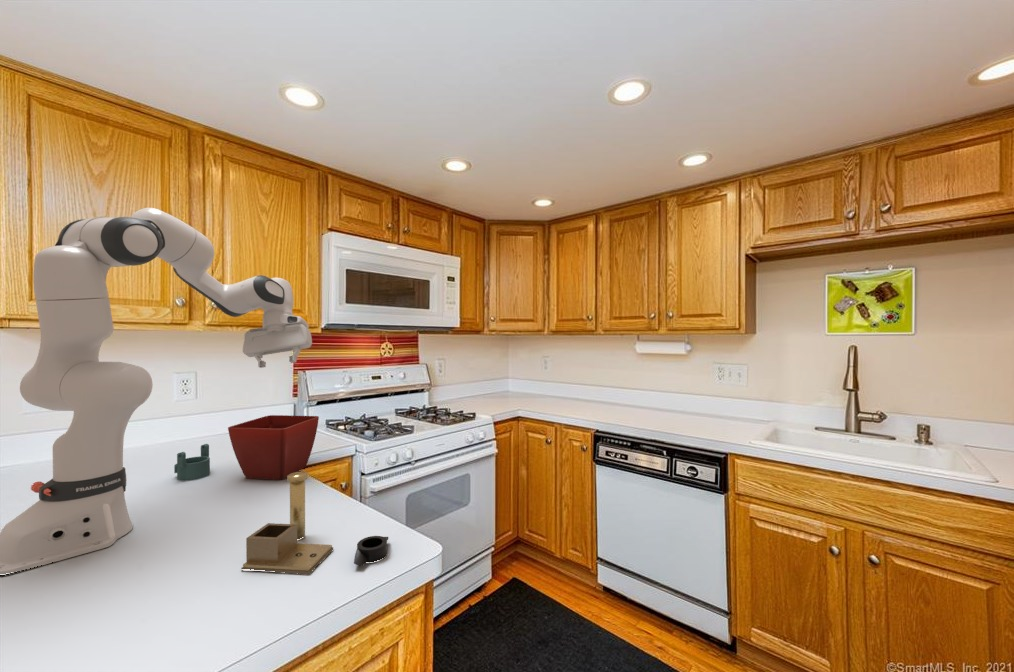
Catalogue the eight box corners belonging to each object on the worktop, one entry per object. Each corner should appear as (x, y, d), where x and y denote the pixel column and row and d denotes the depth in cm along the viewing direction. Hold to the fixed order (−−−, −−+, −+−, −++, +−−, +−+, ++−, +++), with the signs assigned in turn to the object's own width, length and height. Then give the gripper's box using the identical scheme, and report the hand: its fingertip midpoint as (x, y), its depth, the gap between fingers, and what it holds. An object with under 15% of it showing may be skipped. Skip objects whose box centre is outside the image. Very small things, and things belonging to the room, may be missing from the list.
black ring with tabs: (339, 558, 85) (339, 544, 85) (384, 541, 92) (384, 528, 92) (357, 574, 80) (357, 559, 80) (403, 554, 87) (403, 540, 87)
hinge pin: (294, 543, 91) (294, 479, 90) (283, 539, 93) (283, 475, 92) (311, 536, 94) (311, 473, 94) (300, 531, 96) (300, 470, 96)
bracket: (209, 470, 139) (209, 443, 139) (210, 477, 132) (209, 449, 132) (175, 475, 134) (174, 447, 134) (173, 483, 127) (173, 454, 127)
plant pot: (226, 482, 128) (225, 426, 128) (269, 462, 147) (269, 414, 147) (283, 485, 125) (283, 428, 125) (320, 465, 144) (320, 416, 144)
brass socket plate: (309, 574, 79) (309, 544, 79) (241, 571, 80) (241, 541, 80) (333, 550, 88) (333, 523, 88) (271, 547, 89) (271, 520, 89)
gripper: (239, 326, 134) (237, 367, 129) (305, 316, 136) (306, 355, 131) (250, 334, 140) (248, 373, 134) (313, 324, 142) (314, 362, 136)
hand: (277, 364), depth 133 cm, fingers open, 8 cm apart
